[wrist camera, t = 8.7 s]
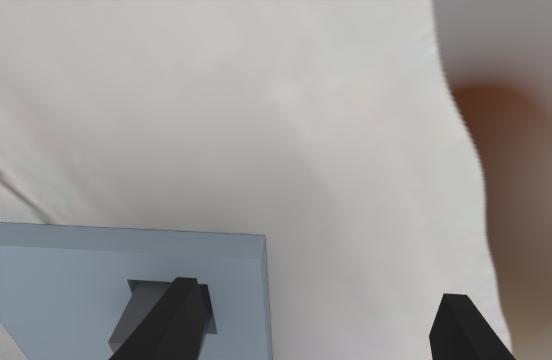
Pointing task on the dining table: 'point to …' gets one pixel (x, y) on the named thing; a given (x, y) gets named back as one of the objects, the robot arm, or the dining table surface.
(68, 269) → the socket plate
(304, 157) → the dining table surface
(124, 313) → the block
